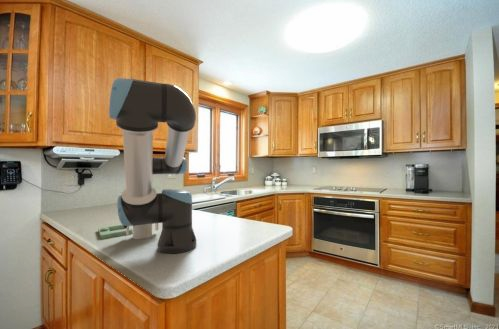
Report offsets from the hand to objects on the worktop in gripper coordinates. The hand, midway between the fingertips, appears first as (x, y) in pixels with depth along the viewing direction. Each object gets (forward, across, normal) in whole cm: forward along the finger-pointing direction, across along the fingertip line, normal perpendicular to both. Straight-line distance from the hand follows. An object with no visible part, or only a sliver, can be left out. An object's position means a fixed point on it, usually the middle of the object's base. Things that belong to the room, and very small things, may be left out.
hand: (142, 232), depth 107 cm
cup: (+2, 0, 0) cm, 2 cm away
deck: (+2, +10, -15) cm, 18 cm away
